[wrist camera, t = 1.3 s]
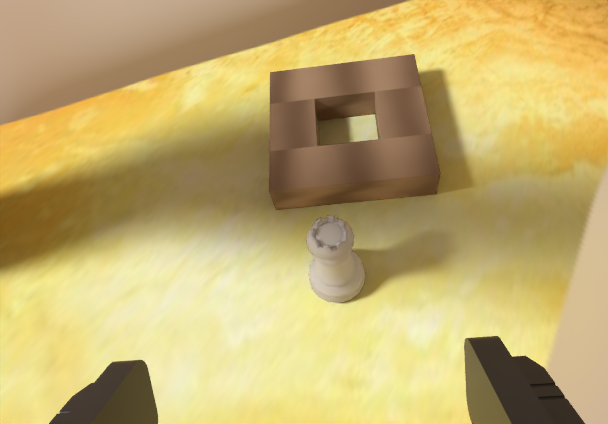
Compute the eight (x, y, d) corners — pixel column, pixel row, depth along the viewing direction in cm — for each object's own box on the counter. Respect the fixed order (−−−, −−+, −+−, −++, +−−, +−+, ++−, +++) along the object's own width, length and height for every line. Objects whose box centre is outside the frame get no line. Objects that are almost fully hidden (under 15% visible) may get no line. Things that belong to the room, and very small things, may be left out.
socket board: (275, 209, 42) (269, 191, 40) (275, 94, 50) (270, 72, 47) (436, 193, 41) (440, 174, 38) (412, 77, 48) (414, 54, 46)
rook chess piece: (325, 314, 37) (313, 274, 30) (300, 268, 39) (284, 220, 32) (375, 288, 37) (375, 243, 31) (348, 244, 40) (343, 192, 33)
